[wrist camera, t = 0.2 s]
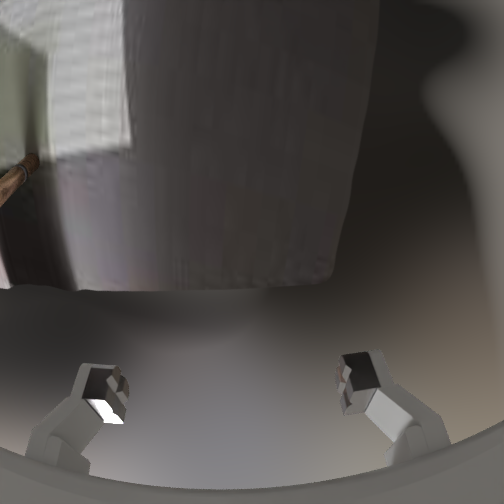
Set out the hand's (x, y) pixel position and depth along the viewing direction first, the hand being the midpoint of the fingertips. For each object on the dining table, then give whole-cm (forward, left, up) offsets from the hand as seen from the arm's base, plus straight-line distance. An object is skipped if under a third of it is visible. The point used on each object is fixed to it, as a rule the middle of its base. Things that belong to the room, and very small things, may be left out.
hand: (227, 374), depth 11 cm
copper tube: (+3, -35, -39) cm, 52 cm away
